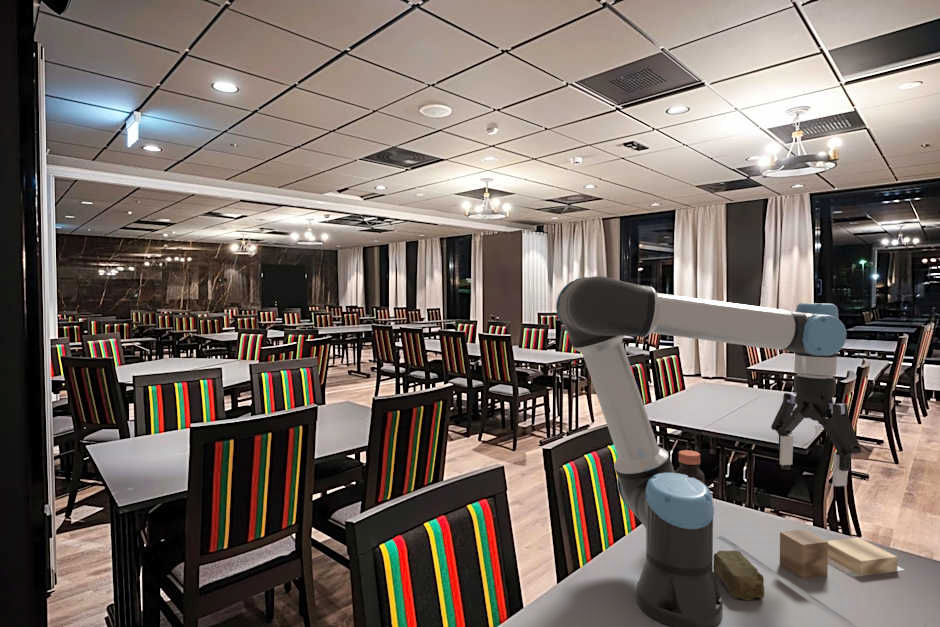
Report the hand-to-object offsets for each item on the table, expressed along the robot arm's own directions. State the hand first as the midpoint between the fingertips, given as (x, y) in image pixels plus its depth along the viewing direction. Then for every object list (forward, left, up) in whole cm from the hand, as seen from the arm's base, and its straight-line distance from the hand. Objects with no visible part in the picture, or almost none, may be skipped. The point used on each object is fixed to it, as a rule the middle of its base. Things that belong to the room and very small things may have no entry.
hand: (811, 474), depth 114 cm
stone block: (-20, -3, -21) cm, 29 cm away
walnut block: (-4, -2, -20) cm, 21 cm away
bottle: (-16, +20, -20) cm, 32 cm away
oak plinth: (+10, -2, -19) cm, 22 cm away
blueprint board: (+10, -2, -20) cm, 23 cm away
